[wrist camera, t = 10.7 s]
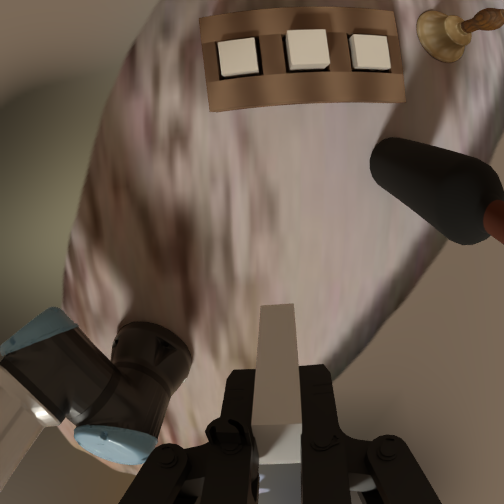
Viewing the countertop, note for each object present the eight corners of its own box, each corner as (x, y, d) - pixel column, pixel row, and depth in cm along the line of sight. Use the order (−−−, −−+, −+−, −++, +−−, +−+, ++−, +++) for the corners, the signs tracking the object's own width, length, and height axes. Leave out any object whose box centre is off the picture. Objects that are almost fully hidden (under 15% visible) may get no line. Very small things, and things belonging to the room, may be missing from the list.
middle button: (289, 71, 32) (291, 64, 28) (285, 41, 31) (287, 30, 26) (322, 70, 32) (330, 63, 27) (318, 39, 30) (325, 29, 26)
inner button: (227, 79, 35) (221, 74, 30) (224, 51, 33) (217, 42, 29) (260, 76, 34) (258, 70, 30) (256, 47, 33) (254, 37, 28)
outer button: (347, 72, 33) (357, 66, 29) (344, 43, 32) (353, 34, 27) (377, 73, 33) (390, 68, 28) (373, 44, 31) (386, 36, 27)
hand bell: (444, 73, 32) (514, 64, 18) (405, 27, 30) (464, -5, 16) (472, 45, 30) (540, 32, 15) (436, 2, 28) (495, -30, 13)
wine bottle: (394, 125, 37) (571, 167, 9) (428, 165, 38) (592, 253, 11) (358, 164, 39) (499, 264, 12) (393, 201, 41) (530, 333, 14)
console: (217, 112, 38) (209, 111, 33) (207, 26, 33) (198, 16, 28) (391, 103, 35) (405, 102, 31) (380, 19, 30) (392, 9, 26)
